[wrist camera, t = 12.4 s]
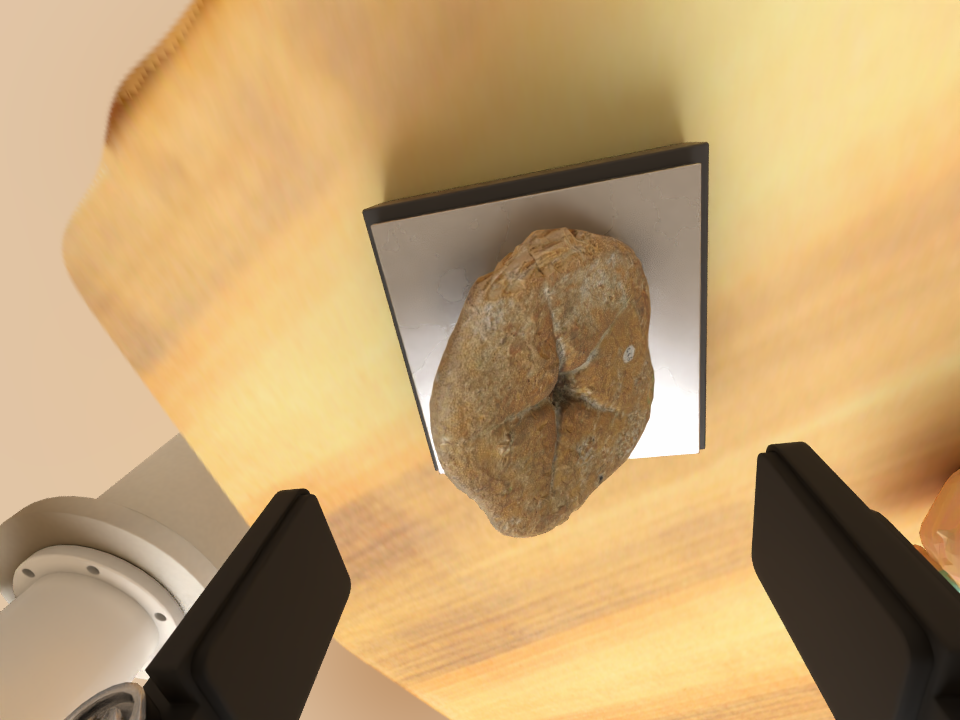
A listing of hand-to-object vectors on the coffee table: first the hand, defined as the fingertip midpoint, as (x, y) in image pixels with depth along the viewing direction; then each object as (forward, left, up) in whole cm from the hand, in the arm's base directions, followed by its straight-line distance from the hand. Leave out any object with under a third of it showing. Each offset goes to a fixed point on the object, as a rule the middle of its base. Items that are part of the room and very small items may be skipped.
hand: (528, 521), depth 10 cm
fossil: (+1, 0, -9) cm, 9 cm away
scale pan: (+1, 0, -9) cm, 9 cm away
